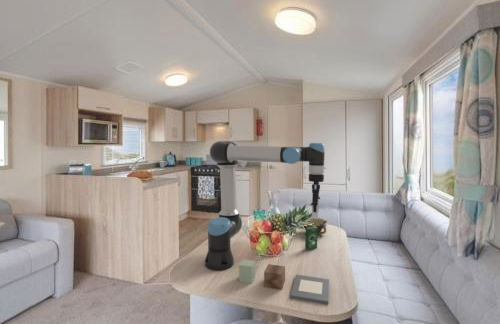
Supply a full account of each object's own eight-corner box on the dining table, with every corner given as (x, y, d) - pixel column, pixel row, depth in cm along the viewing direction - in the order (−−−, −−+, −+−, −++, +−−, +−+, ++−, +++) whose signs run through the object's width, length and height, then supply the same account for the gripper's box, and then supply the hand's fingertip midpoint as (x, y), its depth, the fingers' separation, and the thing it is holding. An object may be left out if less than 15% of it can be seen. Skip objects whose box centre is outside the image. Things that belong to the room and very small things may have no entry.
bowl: (296, 234, 187) (296, 220, 186) (308, 228, 200) (309, 215, 200) (320, 240, 175) (320, 225, 175) (331, 233, 189) (331, 219, 188)
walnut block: (264, 287, 118) (264, 271, 118) (268, 278, 126) (268, 264, 125) (281, 290, 116) (282, 274, 115) (284, 281, 124) (285, 266, 123)
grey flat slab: (290, 297, 110) (290, 294, 110) (296, 276, 127) (296, 274, 127) (328, 304, 106) (328, 301, 105) (328, 281, 123) (328, 279, 123)
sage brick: (239, 281, 123) (239, 264, 122) (243, 275, 128) (243, 259, 128) (251, 283, 121) (251, 266, 120) (255, 277, 127) (255, 261, 126)
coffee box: (314, 246, 164) (314, 225, 164) (317, 248, 162) (318, 226, 161) (304, 249, 160) (305, 227, 159) (308, 250, 158) (308, 229, 157)
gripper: (323, 176, 122) (322, 222, 123) (324, 171, 146) (323, 209, 147) (306, 176, 124) (305, 220, 125) (310, 170, 148) (309, 208, 149)
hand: (315, 214), depth 136 cm, fingers open, 13 cm apart
